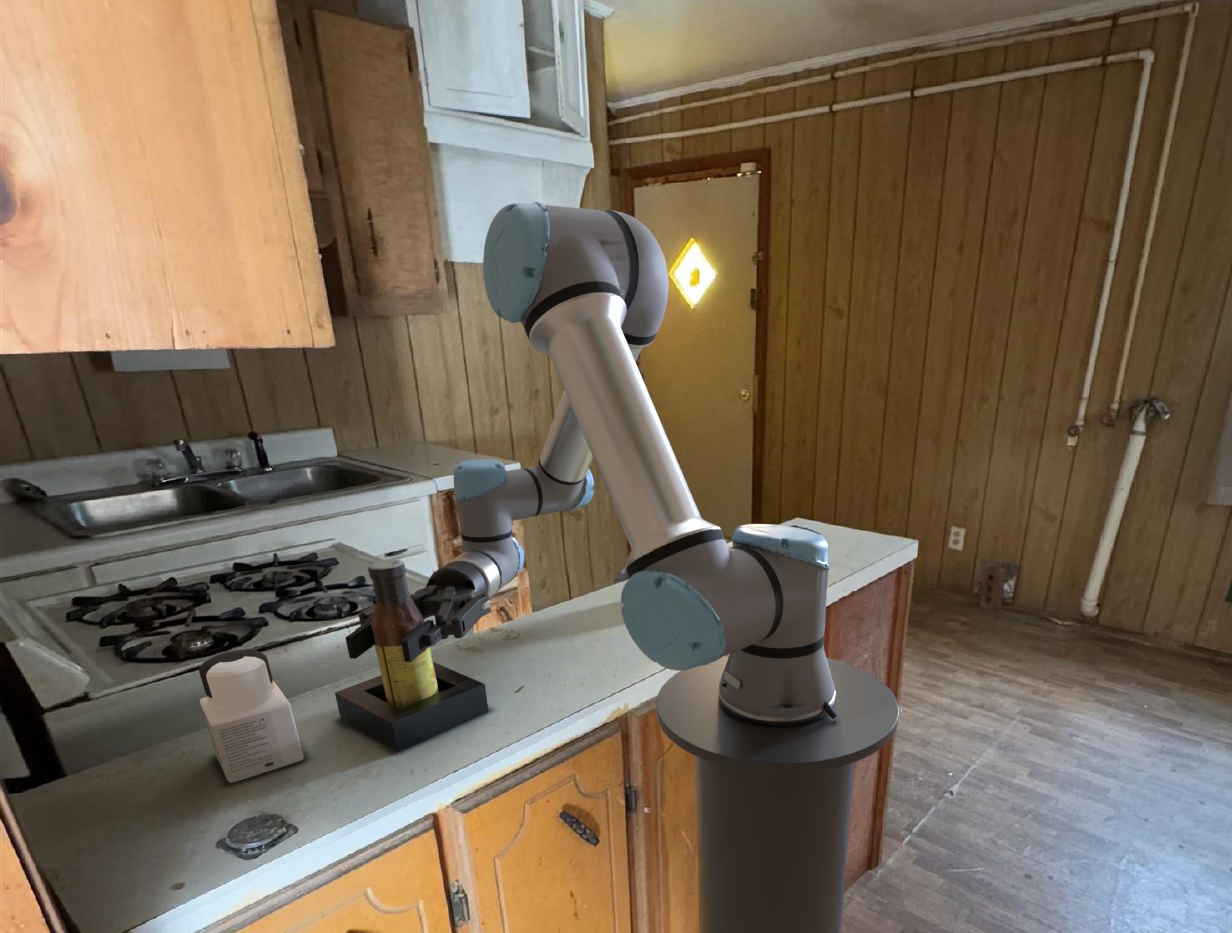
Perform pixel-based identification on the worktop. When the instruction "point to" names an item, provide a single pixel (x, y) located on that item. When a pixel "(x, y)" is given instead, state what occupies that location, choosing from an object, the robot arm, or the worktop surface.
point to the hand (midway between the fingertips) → (378, 649)
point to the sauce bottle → (398, 637)
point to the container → (247, 715)
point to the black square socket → (412, 709)
